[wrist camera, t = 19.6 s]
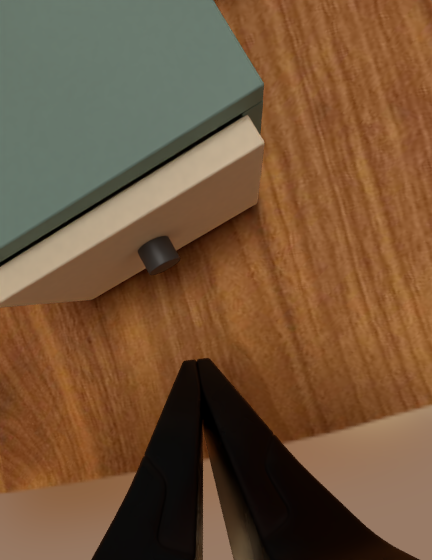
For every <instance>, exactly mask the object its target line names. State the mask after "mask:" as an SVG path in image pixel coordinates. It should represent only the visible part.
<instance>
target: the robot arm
mask: <svg viewBox="0 0 432 560" xmlns="http://www.w3.org/2000/svg"><path fill="white" fill-rule="evenodd" d="M202 425H203V426H202ZM203 432H204V437H205V441H206V446H207V450H208V454H209V458H210V462H211V466H212V471H213V475H214V479H215V483H216V488H217V491H218V496H219V500H220V504H221V508H222V512H223V517H224V521H225V525H226V529H227V533H228V538H229V542H230V546H231V550H232V554H233V558H234V560H419V559H417V558H415V557H413V556H411V555H409V554H407V553H405V552H403V551H401V550H399V549H397V548H396V547H393V546H392V545H391V544H389V543H387V542H386V541H384V540H383V539H381V538H380V537H379V536H377V535H376V534H375V533H374V532H372V531H371V530H370V529H368V528H367V527H366V526H365V525H364V524H363V523H362V522H361V521H360V520H359V519H357V518H356V517H355V516H354V515H353V514H352V513H351V512H350V511H349V510H348V509H347V508H346V507H345V506H344V505H343V504H342V503H341V502H339V500H338V499H336V498H335V497H334V496H333V495H332V494H331V493H330V492H329V491H328V490H327V489H326V488H325V487H324V486H323V485H322V484H321V483H320V482H319V481H317V480H316V479H315V478H314V477H313V476H312V475H311V474H310V473H309V472H308V471H307V470H306V469H305V468H304V467H303V466H302V465H301V464H300V463H299V462H298V461H297V459H295V457H294V456H293V455H292V454H291V453H290V452H289V451H288V449H287V448H286V447H285V446H284V445H283V444H282V443H281V441H280V440H279V439H278V438H277V437H276V436H275V435H273V432H272V431H271V430H270V429H269V428H268V426H267V425H266V424H265V423H264V422H263V420H262V419H261V418H260V417H259V416H258V415H257V413H256V412H255V411H254V410H253V409H252V408H251V406H250V405H249V404H248V403H247V402H246V401H245V399H244V398H243V397H242V396H241V395H240V393H239V392H238V391H237V390H236V389H235V388H234V386H233V385H232V384H231V383H230V382H229V381H228V379H227V378H226V377H225V376H224V375H223V374H222V372H221V371H220V370H219V369H218V368H217V366H216V365H215V364H214V363H213V362H212V361H211V360H210V359H209V358H203V359H198V360H197V362H196V360H186V361H183V363H182V365H181V368H180V370H179V372H178V375H177V377H176V380H175V382H174V384H173V387H172V389H171V392H170V394H169V396H168V399H167V401H166V404H165V406H164V408H163V411H162V413H161V416H160V418H159V420H158V423H157V425H156V428H155V430H154V432H153V435H152V437H151V440H150V442H149V444H148V447H147V449H146V452H145V456H144V457H143V458H142V461H141V463H140V466H139V468H138V470H137V473H136V475H135V477H134V479H133V482H132V484H131V486H130V488H129V490H128V492H127V494H126V496H125V498H124V500H123V502H122V504H121V506H120V508H119V510H118V512H117V514H116V516H115V518H114V520H113V521H112V523H111V525H110V527H109V529H108V530H107V532H106V534H105V536H104V538H103V539H102V541H101V543H100V545H99V547H98V549H97V551H96V552H95V554H94V556H93V558H92V560H203Z"/></svg>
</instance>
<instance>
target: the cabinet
mask: <svg viewBox="0 0 432 560" xmlns="http://www.w3.org/2000/svg"><path fill="white" fill-rule="evenodd" d="M263 90H264V83H263V81H262V80H261V78H260V76H259V75H258V73H257V71H256V70H255V68H254V67H253V65H252V63H251V62H250V60H249V58H248V57H247V55H246V53H245V52H244V50H243V48H242V47H241V45H240V44H239V42H238V40H237V39H236V37H235V35H234V34H233V32H232V30H231V29H230V27H229V26H228V24H227V22H226V21H225V19H224V17H223V16H222V14H221V12H220V11H219V9H218V7H217V6H216V4H215V3H214V1H213V0H0V266H2V265H3V264H5V263H7V262H8V261H10V260H12V259H13V258H15V257H16V256H18V255H20V254H21V253H23V252H25V251H26V250H28V249H27V248H24V247H26V246H27V245H29V244H31V243H32V242H34V241H35V240H37V239H39V238H40V237H42V236H44V235H45V234H47V233H48V232H50V231H52V230H53V229H55V228H57V227H58V226H60V225H61V224H63V223H65V222H66V221H68V220H69V219H71V218H73V217H74V216H76V215H78V214H79V213H81V212H82V211H84V210H86V209H87V208H89V207H91V206H92V205H94V204H95V203H97V202H99V201H100V200H102V199H103V198H105V197H107V196H108V195H110V194H112V193H113V192H115V191H116V190H118V189H120V188H121V187H123V186H125V185H126V184H128V183H129V182H131V181H133V180H134V179H136V178H137V177H139V176H141V175H142V174H144V173H146V172H147V171H149V170H150V169H152V168H154V167H155V166H157V165H159V164H160V163H162V162H163V161H165V160H167V159H168V158H170V157H171V156H173V155H175V154H176V153H178V152H180V151H181V150H183V149H184V148H186V147H188V146H189V145H191V144H193V143H194V142H196V141H197V140H199V139H201V138H202V137H204V136H205V135H207V134H209V133H210V132H212V131H214V130H215V129H217V132H219V131H221V130H223V129H224V128H226V127H227V126H229V125H231V124H232V123H234V122H236V121H237V120H239V119H240V118H242V117H244V116H245V115H248V116H249V117H250V119H251V121H252V122H253V124H254V126H255V127H256V129H257V131H258V132H259V134H260V131H261V119H262V108H263V100H262V99H263Z"/></svg>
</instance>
